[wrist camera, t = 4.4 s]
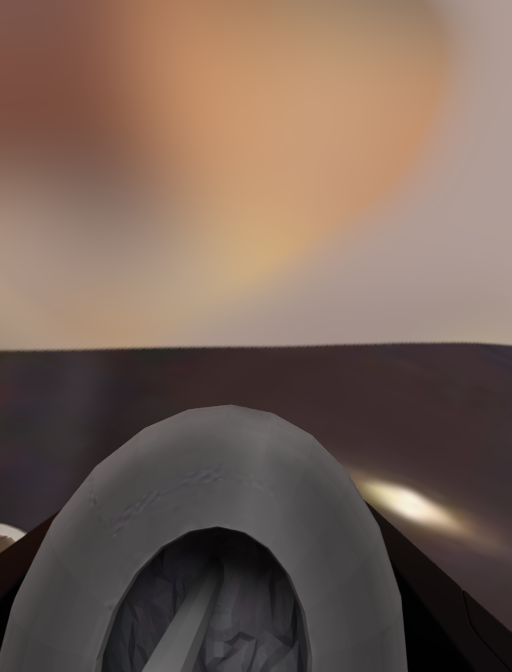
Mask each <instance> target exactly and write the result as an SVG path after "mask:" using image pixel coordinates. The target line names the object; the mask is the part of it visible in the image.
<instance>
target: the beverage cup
mask: <svg viewBox="0 0 512 672" xmlns="http://www.w3.org/2000/svg"><path fill="white" fill-rule="evenodd" d="M0 672H408V669H407V657H406V646H405V635H404V624H403V613H402V601H401V595H400V592H399V589H398V586H397V582H396V579H395V576H394V573H393V569H392V566H391V563H390V560H389V556H388V553H387V550H386V547H385V544H384V540H383V537H382V534H381V531H380V527H379V525H378V524H377V522H376V520H375V519H374V517H373V515H372V513H371V512H370V510H369V508H368V506H367V505H366V503H365V501H364V500H363V498H362V496H361V494H360V493H359V491H358V489H357V488H356V486H355V484H354V482H353V481H352V479H351V477H350V475H349V474H348V472H347V471H346V470H345V469H344V468H343V467H342V466H341V465H340V464H339V463H338V462H337V461H336V460H335V459H334V457H333V456H332V455H331V454H330V453H329V452H328V451H327V450H326V449H325V448H324V447H323V446H322V445H321V444H320V443H319V442H318V441H317V440H316V439H315V438H314V437H313V436H312V435H311V434H309V433H307V432H305V431H304V430H302V429H300V428H298V427H296V426H295V425H293V424H291V423H289V422H287V421H286V420H284V419H282V418H280V417H278V416H277V415H275V414H273V413H269V412H264V411H259V410H255V409H250V408H245V407H240V406H235V405H225V406H216V407H206V408H197V409H188V410H186V411H184V412H181V413H179V414H177V415H174V416H172V417H170V418H167V419H165V420H163V421H160V422H158V423H156V424H153V425H151V426H149V427H146V428H144V429H143V430H142V431H140V432H139V433H138V434H137V435H135V436H134V437H133V438H132V439H130V440H129V441H128V442H126V443H125V444H124V445H123V446H121V447H120V448H119V449H118V450H116V451H115V452H114V453H112V454H111V455H110V456H109V457H107V458H106V459H105V460H104V461H102V462H101V463H100V464H98V465H97V466H96V467H95V468H94V470H93V471H92V472H91V473H90V475H89V476H88V477H87V478H86V480H85V481H84V482H83V483H82V485H81V486H80V487H79V488H78V490H77V491H76V492H75V494H74V495H73V496H72V497H71V499H70V500H69V501H68V502H67V504H66V505H65V506H64V507H63V509H62V510H61V511H60V512H59V514H58V515H57V516H56V517H55V519H54V520H53V522H52V524H51V526H50V528H49V530H48V532H47V534H46V536H45V538H44V540H43V542H42V544H41V546H40V548H39V550H38V552H37V554H36V556H35V558H34V560H33V562H32V564H31V566H30V568H29V570H28V572H27V574H26V576H25V579H24V581H23V583H22V585H21V587H20V589H19V591H18V593H17V595H16V597H15V600H14V603H13V605H12V608H11V612H10V616H9V620H8V624H7V628H6V632H5V636H4V640H3V644H2V648H1V651H0Z"/></svg>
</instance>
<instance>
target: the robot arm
mask: <svg viewBox="0 0 512 672" xmlns="http://www.w3.org/2000/svg"><path fill="white" fill-rule="evenodd" d="M363 500H364V499H363ZM364 501H365V500H364ZM365 503H366V505H367V506H368V508H369V510H370V512H371V513H372V515H373V517H374V519H375V520H376V522H377V524H378V525H379V527H380V531H381V534H382V537H383V540H384V544H385V547H386V550H387V553H388V556H389V560H390V563H391V566H392V569H393V573H394V576H395V579H396V582H397V586H398V589H399V592H400V595H401V601H402V613H403V624H404V635H405V646H406V657H407V669H408V672H512V632H511V631H510V630H509V629H507V628H506V627H505V626H504V625H503V624H502V623H501V622H500V621H498V620H497V619H496V618H495V617H494V616H493V615H492V614H490V613H489V612H488V611H487V610H486V609H485V608H484V607H482V606H481V605H480V604H479V603H478V602H477V601H476V600H475V599H474V598H472V597H471V596H470V595H469V594H468V593H467V592H466V591H464V590H463V591H462V588H461V587H460V586H459V585H458V584H457V583H456V582H455V581H453V580H452V579H451V578H450V577H449V576H448V575H447V574H446V573H445V572H443V571H442V570H441V569H440V568H439V567H438V566H437V565H436V564H435V563H434V562H432V561H431V560H430V559H429V558H428V557H427V556H426V555H425V554H424V553H422V552H421V551H420V550H419V549H418V548H417V547H416V546H415V545H414V544H413V543H411V542H410V541H409V540H408V539H407V538H406V537H405V536H404V535H403V534H401V533H400V532H399V531H398V530H397V529H396V528H395V527H394V526H393V525H391V524H390V523H389V522H388V521H387V520H386V519H385V518H384V517H383V516H382V515H380V514H379V513H378V512H377V511H376V510H375V509H374V508H373V507H372V506H370V505H369V504H368V503H367V502H366V501H365ZM62 509H63V508H62ZM62 509H61V510H62ZM61 510H59V511H58V512H57V513H55V514H54V515H52V516H51V517H50V518H48V519H47V520H45V521H44V522H43V523H41V524H40V525H38V526H37V527H36V528H34V529H33V530H31V531H30V532H29V533H27V534H26V535H24V536H23V537H22V538H20V539H19V540H17V541H16V542H15V543H13V544H12V545H10V546H9V547H8V548H6V549H5V550H3V551H2V552H1V553H0V651H1V648H2V644H3V640H4V636H5V632H6V628H7V624H8V620H9V616H10V612H11V608H12V605H13V603H14V600H15V597H16V595H17V593H18V591H19V589H20V587H21V585H22V583H23V581H24V579H25V576H26V574H27V572H28V570H29V568H30V566H31V564H32V562H33V560H34V558H35V556H36V554H37V552H38V550H39V548H40V546H41V544H42V542H43V540H44V538H45V536H46V534H47V532H48V530H49V528H50V526H51V524H52V522H53V520H54V519H55V517H56V516H57V515H58V514H59V512H60V511H61Z"/></svg>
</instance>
